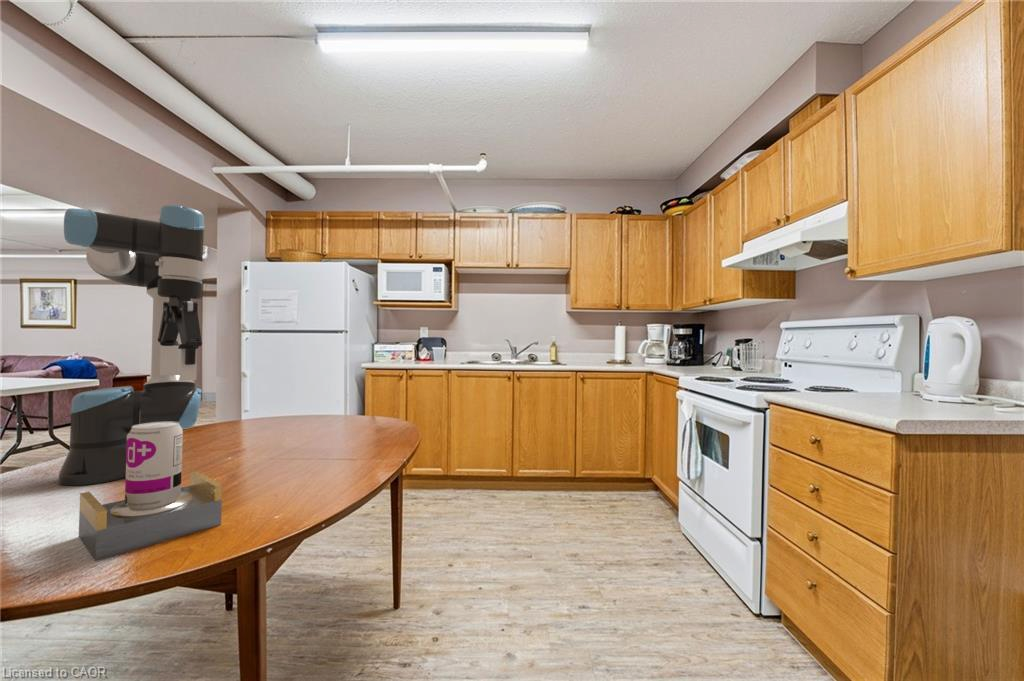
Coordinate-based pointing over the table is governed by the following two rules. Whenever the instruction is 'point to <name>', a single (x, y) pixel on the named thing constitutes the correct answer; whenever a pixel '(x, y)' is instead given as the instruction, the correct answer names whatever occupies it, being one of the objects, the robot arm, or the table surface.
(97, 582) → the table surface
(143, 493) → the supplement can
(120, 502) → the grey boxy piece
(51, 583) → the table surface
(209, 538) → the table surface
